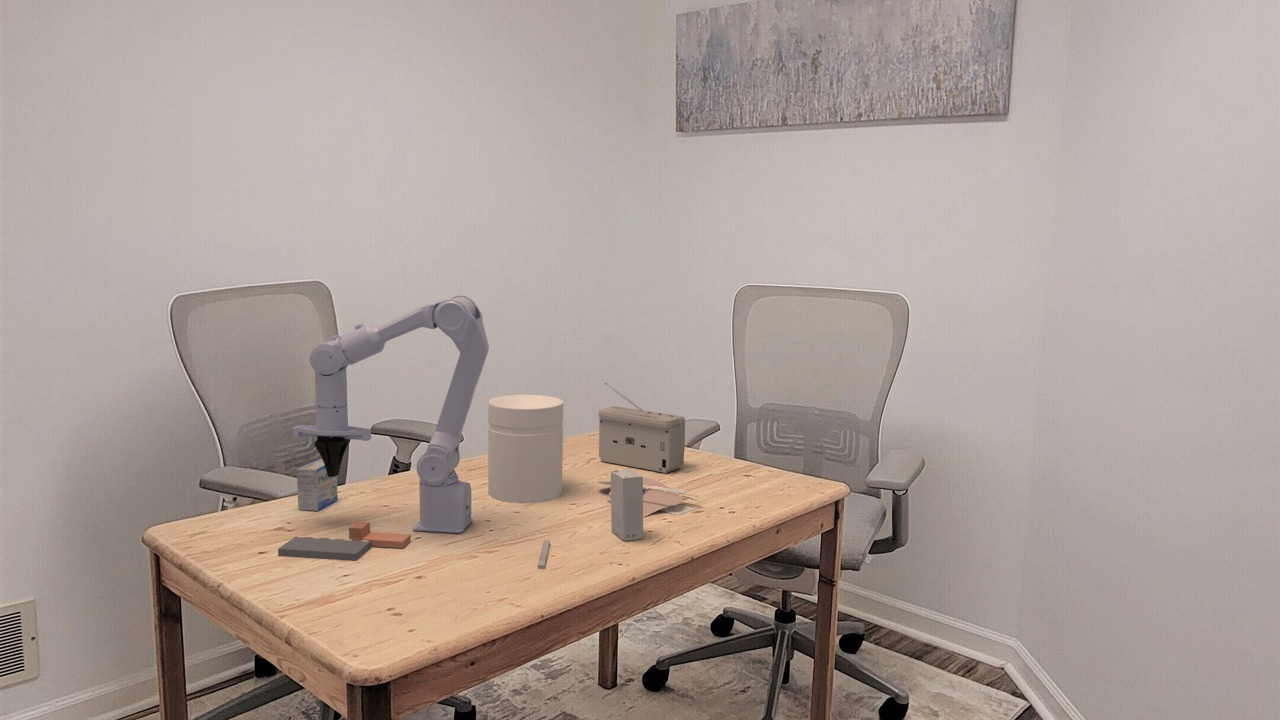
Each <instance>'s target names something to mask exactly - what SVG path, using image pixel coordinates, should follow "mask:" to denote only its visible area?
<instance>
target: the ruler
mask: <svg viewBox="0 0 1280 720" xmlns="http://www.w3.org/2000/svg"><path fill="white" fill-rule="evenodd" d="M550 546H551V540H550V539H546V540H545V539H544V540H543V542H542V545H541V549H540V555H539V559H538V562H537V569H538V570H545V568H546V565H547V559H548V555H549V550H550Z"/></svg>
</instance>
